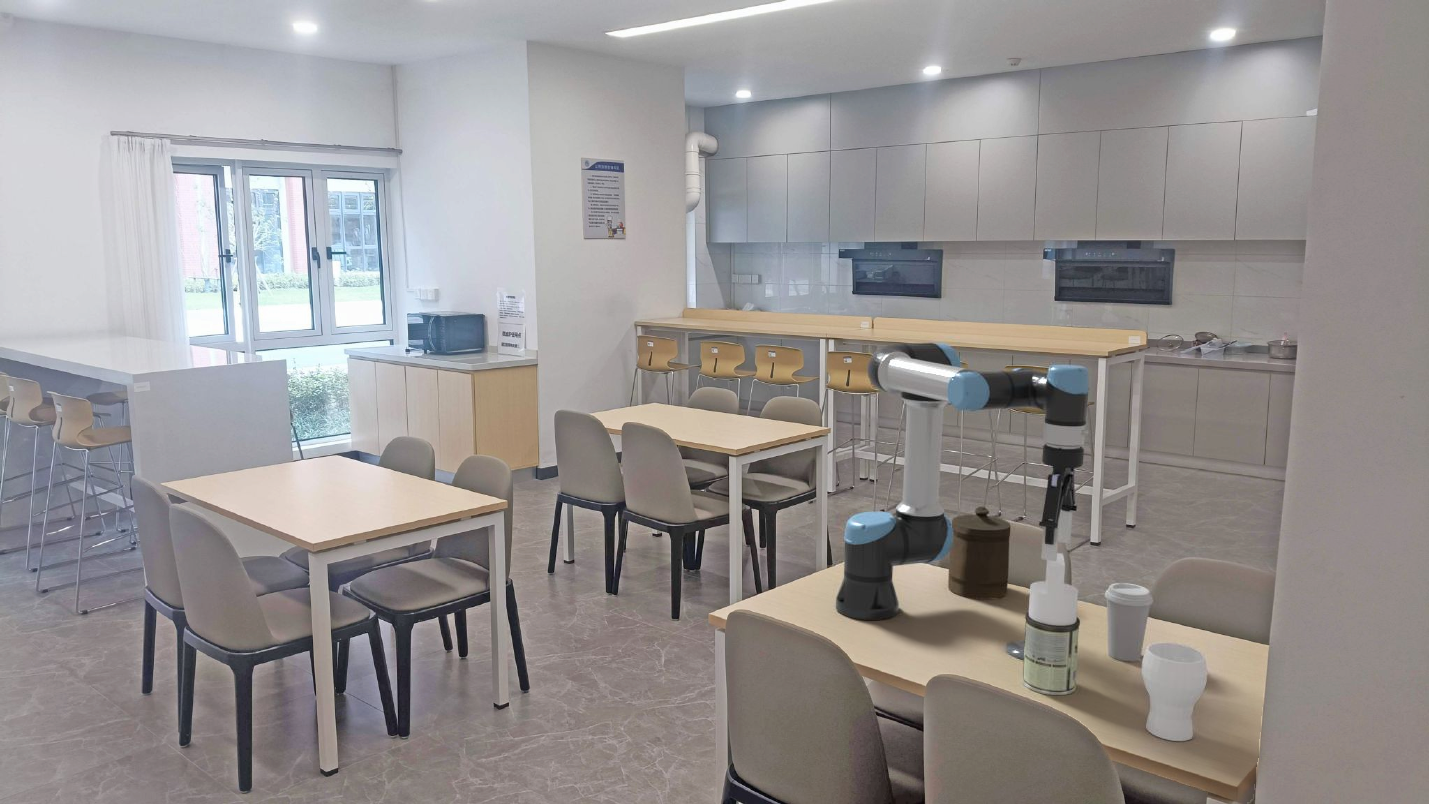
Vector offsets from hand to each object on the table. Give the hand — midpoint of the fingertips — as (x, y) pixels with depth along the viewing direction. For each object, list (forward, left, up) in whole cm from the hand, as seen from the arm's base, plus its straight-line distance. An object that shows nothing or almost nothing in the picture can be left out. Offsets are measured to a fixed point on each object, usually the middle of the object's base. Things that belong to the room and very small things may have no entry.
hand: (1056, 550), depth 192 cm
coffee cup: (+11, +24, -28) cm, 38 cm away
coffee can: (0, 0, -28) cm, 28 cm away
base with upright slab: (0, 0, -14) cm, 14 cm away
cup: (+23, -9, -28) cm, 37 cm away
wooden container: (-28, +50, -28) cm, 64 cm away
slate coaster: (-7, +15, -28) cm, 32 cm away
